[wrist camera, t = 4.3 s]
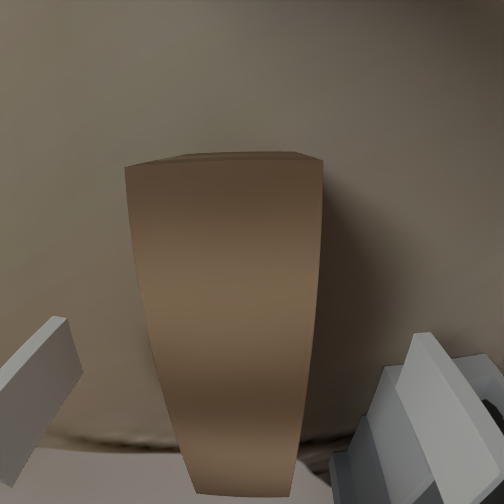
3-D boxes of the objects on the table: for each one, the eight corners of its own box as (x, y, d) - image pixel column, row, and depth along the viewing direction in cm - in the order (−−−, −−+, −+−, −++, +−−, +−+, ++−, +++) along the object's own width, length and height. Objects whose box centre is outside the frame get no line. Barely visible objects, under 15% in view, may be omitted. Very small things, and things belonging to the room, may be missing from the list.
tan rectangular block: (284, 404, 16) (288, 497, 10) (212, 403, 16) (196, 493, 10) (294, 151, 11) (323, 160, 6) (189, 154, 12) (124, 167, 6)
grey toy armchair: (328, 463, 18) (346, 634, 5) (361, 367, 15) (433, 631, 1) (445, 443, 17) (494, 578, 4) (498, 350, 14) (602, 507, 1)
